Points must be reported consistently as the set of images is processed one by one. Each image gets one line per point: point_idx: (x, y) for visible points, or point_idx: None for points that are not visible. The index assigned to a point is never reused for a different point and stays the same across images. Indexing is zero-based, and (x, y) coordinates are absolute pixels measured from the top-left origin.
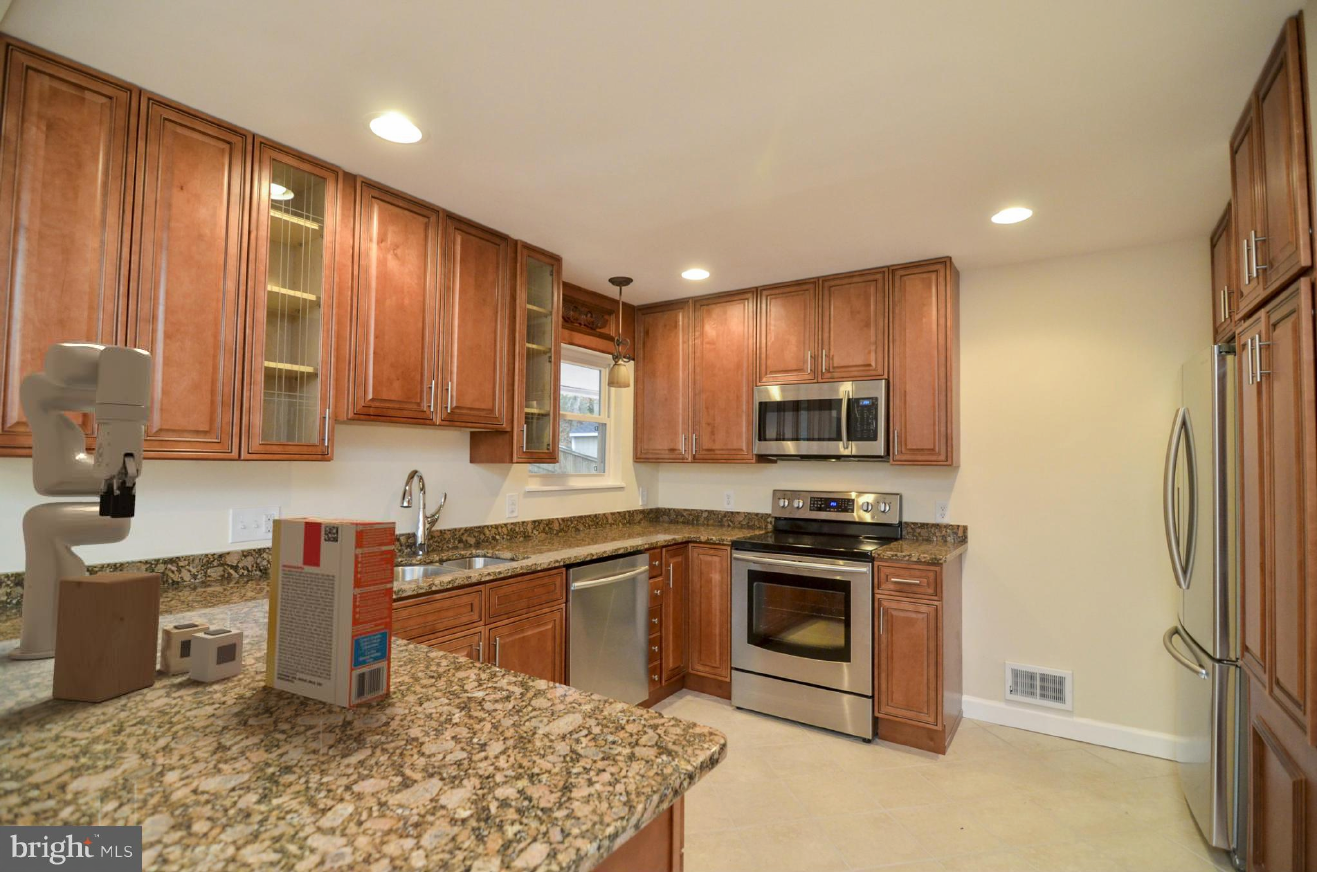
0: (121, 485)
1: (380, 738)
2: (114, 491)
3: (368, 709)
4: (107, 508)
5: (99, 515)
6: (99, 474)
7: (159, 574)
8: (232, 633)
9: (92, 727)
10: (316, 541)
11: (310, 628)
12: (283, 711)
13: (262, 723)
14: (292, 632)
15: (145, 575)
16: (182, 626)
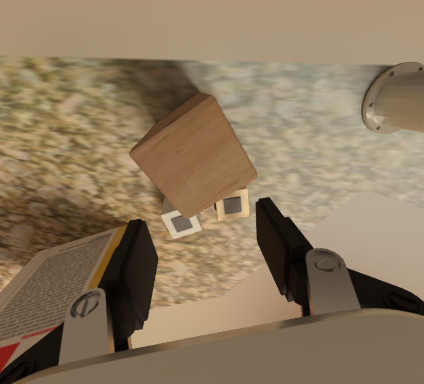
0: (33, 357)
1: None
2: (97, 302)
3: (28, 259)
4: (262, 226)
5: (266, 197)
6: (181, 375)
7: (184, 217)
8: (170, 231)
9: (83, 115)
10: None
11: (49, 280)
12: (51, 222)
13: (28, 208)
14: (77, 267)
15: (174, 203)
16: (230, 203)
